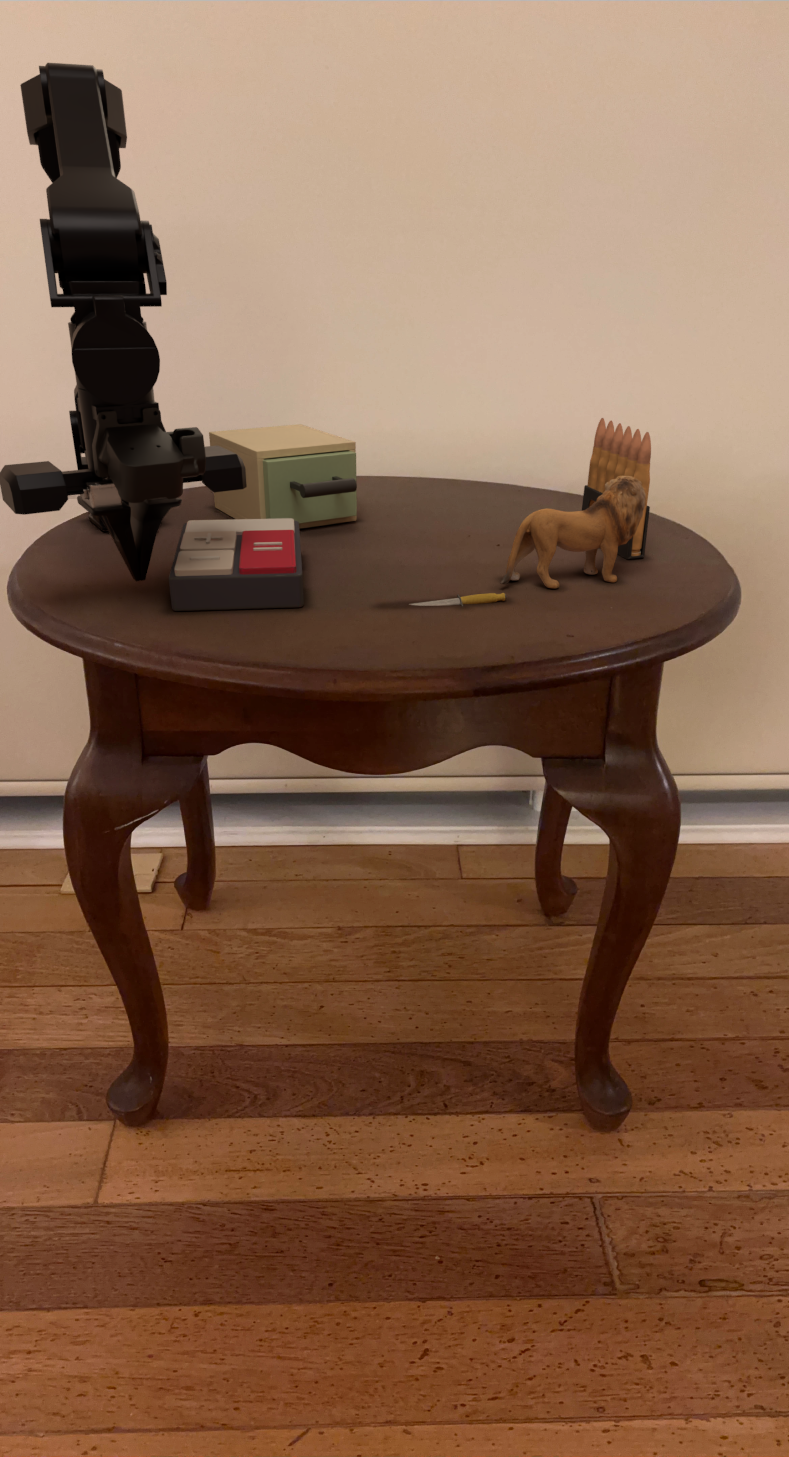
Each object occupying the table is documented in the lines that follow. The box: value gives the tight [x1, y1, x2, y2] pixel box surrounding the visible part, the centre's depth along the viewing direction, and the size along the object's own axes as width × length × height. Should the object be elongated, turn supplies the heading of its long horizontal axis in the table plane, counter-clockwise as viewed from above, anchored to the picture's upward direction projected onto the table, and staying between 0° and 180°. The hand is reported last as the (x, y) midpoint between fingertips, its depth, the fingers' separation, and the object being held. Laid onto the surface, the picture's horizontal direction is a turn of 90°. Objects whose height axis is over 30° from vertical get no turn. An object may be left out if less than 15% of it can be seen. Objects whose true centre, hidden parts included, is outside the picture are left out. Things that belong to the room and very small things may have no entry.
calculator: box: [168, 518, 305, 612], centre depth 83 cm, size 11×4×15 cm
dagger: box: [408, 592, 507, 608], centre depth 79 cm, size 11×1×2 cm
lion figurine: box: [499, 476, 646, 589], centre depth 83 cm, size 15×5×9 cm, turn 116°
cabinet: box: [208, 423, 357, 530], centre depth 105 cm, size 14×12×9 cm
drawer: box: [263, 451, 358, 524], centre depth 102 cm, size 17×10×7 cm, turn 31°
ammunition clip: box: [581, 417, 652, 560], centre depth 93 cm, size 11×2×12 cm, turn 17°
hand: (139, 579), depth 79 cm, fingers closed
